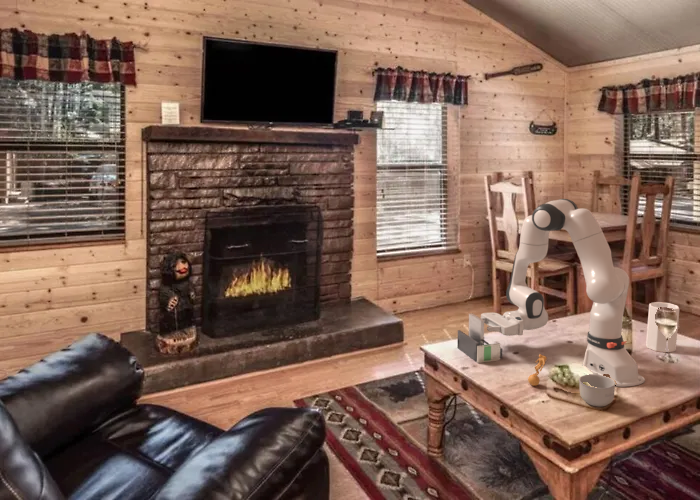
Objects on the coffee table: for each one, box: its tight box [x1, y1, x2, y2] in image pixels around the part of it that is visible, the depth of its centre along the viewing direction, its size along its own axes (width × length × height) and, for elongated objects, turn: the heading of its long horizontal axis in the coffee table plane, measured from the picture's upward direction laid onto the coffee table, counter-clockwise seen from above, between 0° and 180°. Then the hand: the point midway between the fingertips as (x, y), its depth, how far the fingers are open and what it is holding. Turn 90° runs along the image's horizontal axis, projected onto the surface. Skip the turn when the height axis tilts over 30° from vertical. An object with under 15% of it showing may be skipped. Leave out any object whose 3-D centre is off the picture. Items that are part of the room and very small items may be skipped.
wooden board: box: [468, 313, 490, 346], centre depth 215 cm, size 14×2×14 cm, turn 16°
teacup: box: [578, 373, 616, 408], centre depth 175 cm, size 14×11×8 cm
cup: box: [645, 301, 680, 353], centre depth 218 cm, size 11×11×18 cm
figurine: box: [527, 353, 547, 387], centre depth 187 cm, size 8×6×12 cm
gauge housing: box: [457, 329, 503, 364], centre depth 218 cm, size 18×12×8 cm
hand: (482, 325), depth 217 cm, fingers open, 8 cm apart
